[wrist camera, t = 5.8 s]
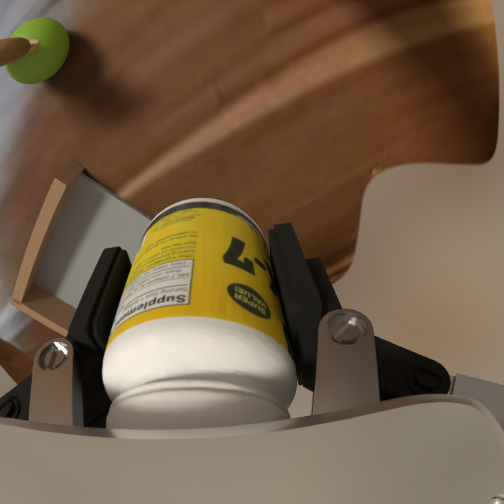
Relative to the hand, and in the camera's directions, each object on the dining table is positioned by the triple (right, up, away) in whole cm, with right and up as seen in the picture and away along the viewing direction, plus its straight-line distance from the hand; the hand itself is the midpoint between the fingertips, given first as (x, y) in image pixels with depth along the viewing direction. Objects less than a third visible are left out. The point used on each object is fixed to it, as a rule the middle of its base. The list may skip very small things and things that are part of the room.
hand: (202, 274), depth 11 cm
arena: (-13, -1, +20) cm, 24 cm away
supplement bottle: (0, +1, +1) cm, 2 cm away
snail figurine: (-15, +17, +8) cm, 24 cm away
